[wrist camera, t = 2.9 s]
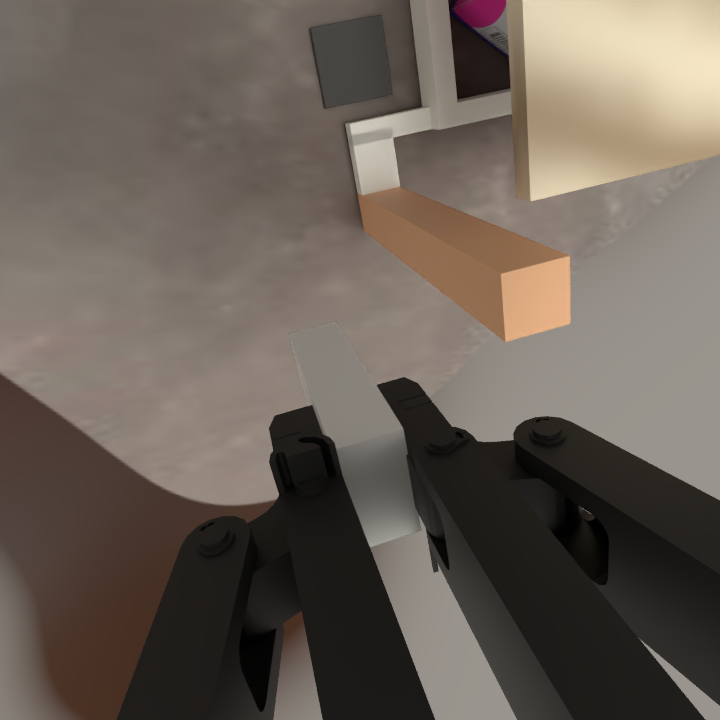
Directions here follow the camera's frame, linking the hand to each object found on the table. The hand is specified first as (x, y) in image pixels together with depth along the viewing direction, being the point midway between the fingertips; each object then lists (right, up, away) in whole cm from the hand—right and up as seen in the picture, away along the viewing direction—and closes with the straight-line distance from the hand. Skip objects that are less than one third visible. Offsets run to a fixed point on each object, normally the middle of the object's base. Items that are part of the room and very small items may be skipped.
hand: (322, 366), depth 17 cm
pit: (+1, +17, +14) cm, 22 cm away
